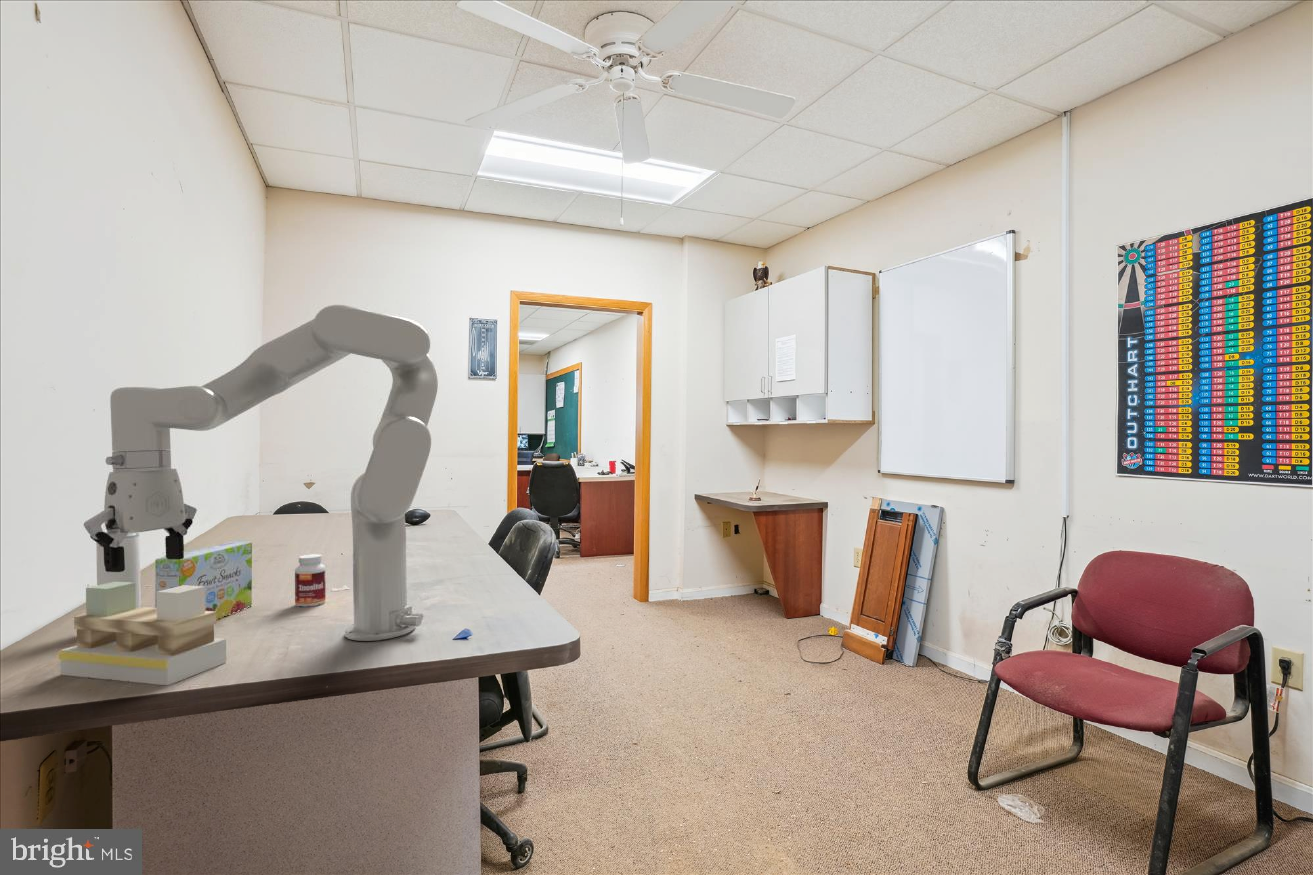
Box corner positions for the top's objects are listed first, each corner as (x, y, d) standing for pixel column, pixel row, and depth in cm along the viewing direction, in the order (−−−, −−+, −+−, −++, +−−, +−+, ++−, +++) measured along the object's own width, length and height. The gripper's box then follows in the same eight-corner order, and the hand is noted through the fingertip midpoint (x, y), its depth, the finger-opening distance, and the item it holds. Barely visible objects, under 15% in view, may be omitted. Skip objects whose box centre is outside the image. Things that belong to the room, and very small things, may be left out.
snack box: (181, 636, 122) (180, 558, 122) (153, 636, 122) (152, 558, 122) (254, 606, 143) (253, 540, 143) (229, 606, 143) (228, 540, 143)
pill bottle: (296, 609, 140) (295, 559, 140) (293, 603, 145) (292, 555, 145) (327, 604, 143) (327, 556, 143) (323, 599, 148) (323, 552, 148)
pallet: (216, 641, 105) (216, 611, 105) (175, 655, 98) (175, 623, 98) (119, 633, 110) (119, 605, 110) (74, 647, 103) (74, 616, 103)
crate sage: (135, 608, 108) (135, 582, 108) (107, 616, 103) (106, 588, 103) (115, 607, 109) (114, 581, 109) (86, 614, 104) (85, 587, 104)
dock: (226, 662, 106) (225, 638, 106) (165, 686, 96) (165, 660, 96) (125, 653, 112) (125, 631, 112) (58, 675, 102) (58, 650, 102)
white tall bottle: (90, 630, 126) (88, 505, 126) (129, 621, 132) (127, 502, 132) (109, 634, 123) (107, 507, 123) (148, 624, 129) (146, 503, 129)
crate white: (205, 613, 104) (205, 586, 104) (179, 621, 100) (178, 592, 100) (183, 612, 105) (183, 585, 105) (156, 619, 101) (156, 591, 101)
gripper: (102, 464, 95) (107, 577, 95) (209, 459, 112) (212, 555, 112) (65, 465, 97) (69, 576, 97) (175, 459, 113) (179, 554, 114)
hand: (146, 564), depth 104 cm, fingers open, 9 cm apart
